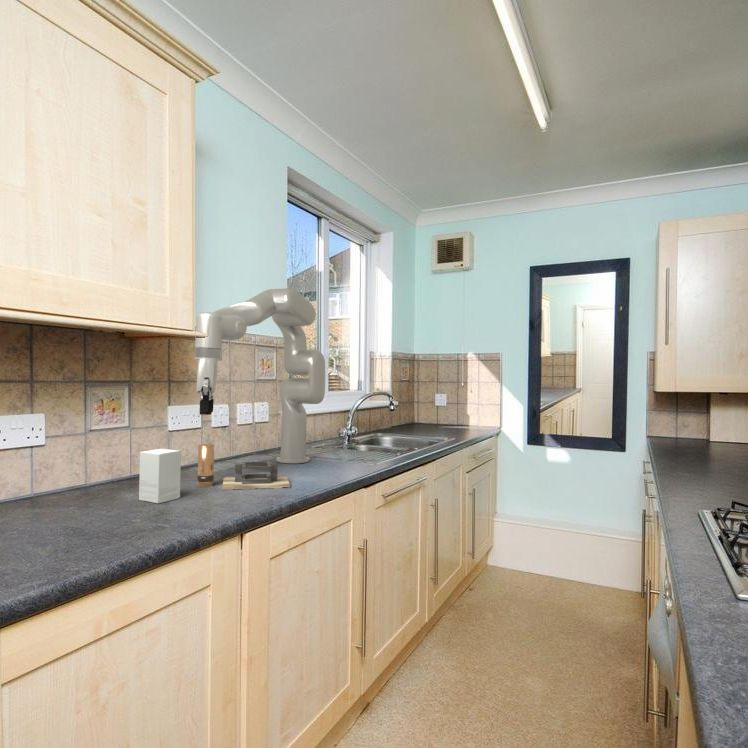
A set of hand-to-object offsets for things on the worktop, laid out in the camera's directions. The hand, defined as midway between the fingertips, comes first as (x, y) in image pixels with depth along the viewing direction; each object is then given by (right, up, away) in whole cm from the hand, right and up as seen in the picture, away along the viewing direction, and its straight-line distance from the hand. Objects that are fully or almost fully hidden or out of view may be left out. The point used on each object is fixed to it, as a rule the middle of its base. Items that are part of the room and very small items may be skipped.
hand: (206, 413), depth 147 cm
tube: (0, -21, 0) cm, 21 cm away
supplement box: (-7, -21, -16) cm, 28 cm away
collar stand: (+14, -22, +4) cm, 26 cm away
